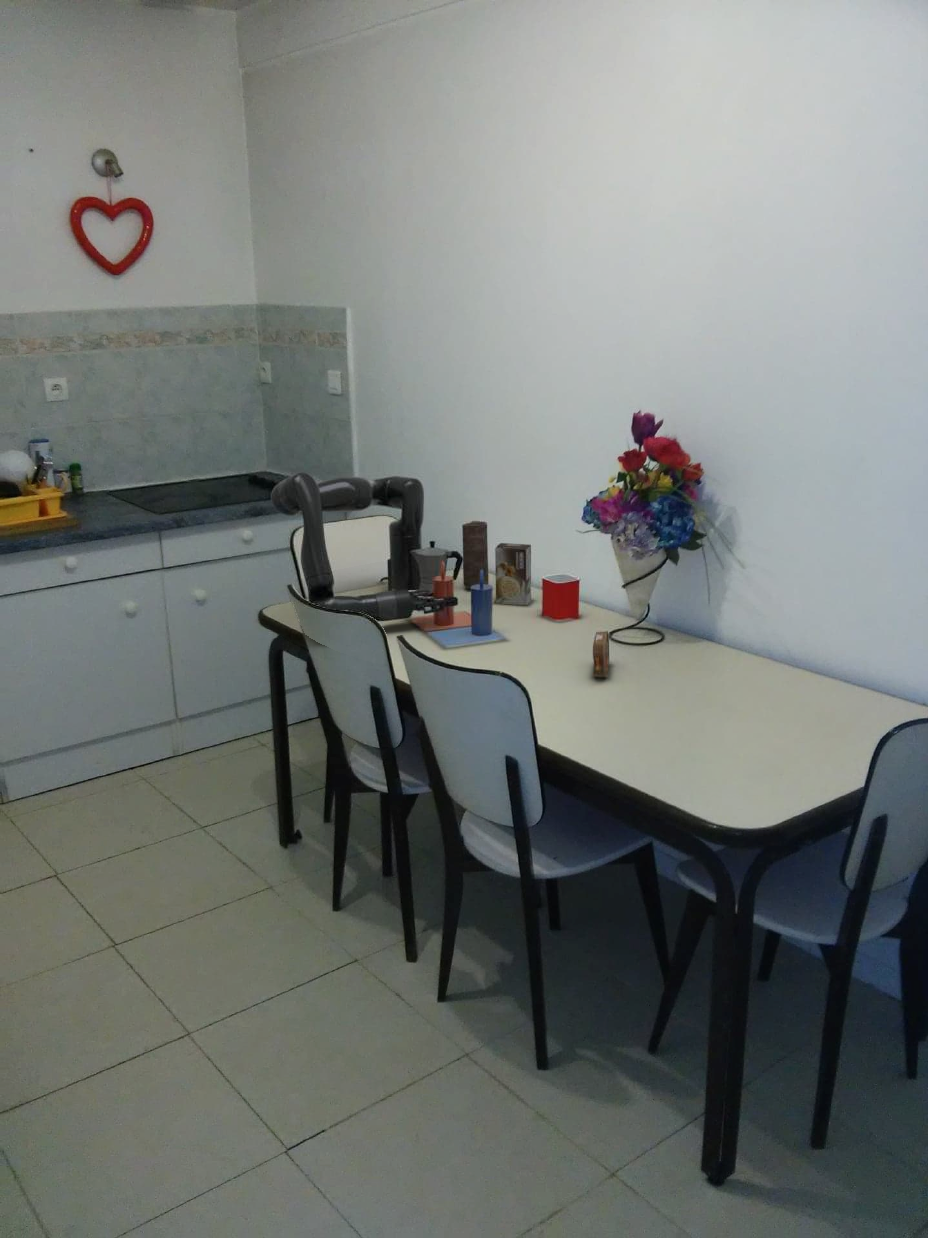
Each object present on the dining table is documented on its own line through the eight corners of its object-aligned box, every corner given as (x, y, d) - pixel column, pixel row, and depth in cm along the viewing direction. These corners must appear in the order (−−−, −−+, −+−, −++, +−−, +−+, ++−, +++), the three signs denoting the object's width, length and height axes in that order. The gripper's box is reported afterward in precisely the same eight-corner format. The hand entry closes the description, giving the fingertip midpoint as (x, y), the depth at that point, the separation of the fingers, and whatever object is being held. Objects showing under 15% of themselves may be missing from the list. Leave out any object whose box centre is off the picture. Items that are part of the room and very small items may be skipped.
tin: (605, 683, 235) (606, 646, 233) (590, 682, 236) (591, 646, 234) (609, 661, 250) (611, 626, 247) (596, 660, 250) (597, 625, 248)
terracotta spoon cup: (430, 624, 276) (428, 562, 272) (438, 618, 281) (437, 558, 276) (449, 626, 274) (448, 564, 270) (457, 621, 279) (456, 559, 274)
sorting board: (445, 649, 259) (445, 646, 259) (409, 620, 282) (408, 617, 282) (505, 640, 265) (505, 637, 265) (464, 613, 288) (464, 610, 288)
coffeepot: (404, 606, 295) (403, 542, 289) (417, 597, 303) (416, 535, 298) (457, 611, 290) (456, 546, 284) (468, 602, 298) (468, 539, 293)
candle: (470, 593, 307) (469, 525, 301) (458, 587, 313) (457, 520, 307) (493, 590, 310) (493, 522, 305) (480, 584, 317) (480, 518, 311)
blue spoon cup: (467, 634, 268) (467, 571, 263) (475, 628, 273) (475, 566, 268) (487, 637, 266) (487, 573, 261) (495, 630, 271) (495, 568, 266)
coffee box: (532, 599, 300) (532, 544, 295) (526, 606, 294) (527, 549, 289) (500, 597, 302) (500, 542, 298) (494, 603, 297) (494, 547, 292)
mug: (582, 617, 283) (583, 579, 280) (557, 622, 279) (557, 583, 276) (555, 607, 293) (555, 569, 290) (530, 612, 288) (530, 573, 285)
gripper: (399, 598, 263) (463, 590, 269) (381, 584, 276) (442, 577, 282) (400, 627, 265) (463, 619, 272) (382, 612, 278) (442, 604, 284)
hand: (452, 598), depth 277 cm, fingers closed on terracotta spoon cup, 5 cm apart
